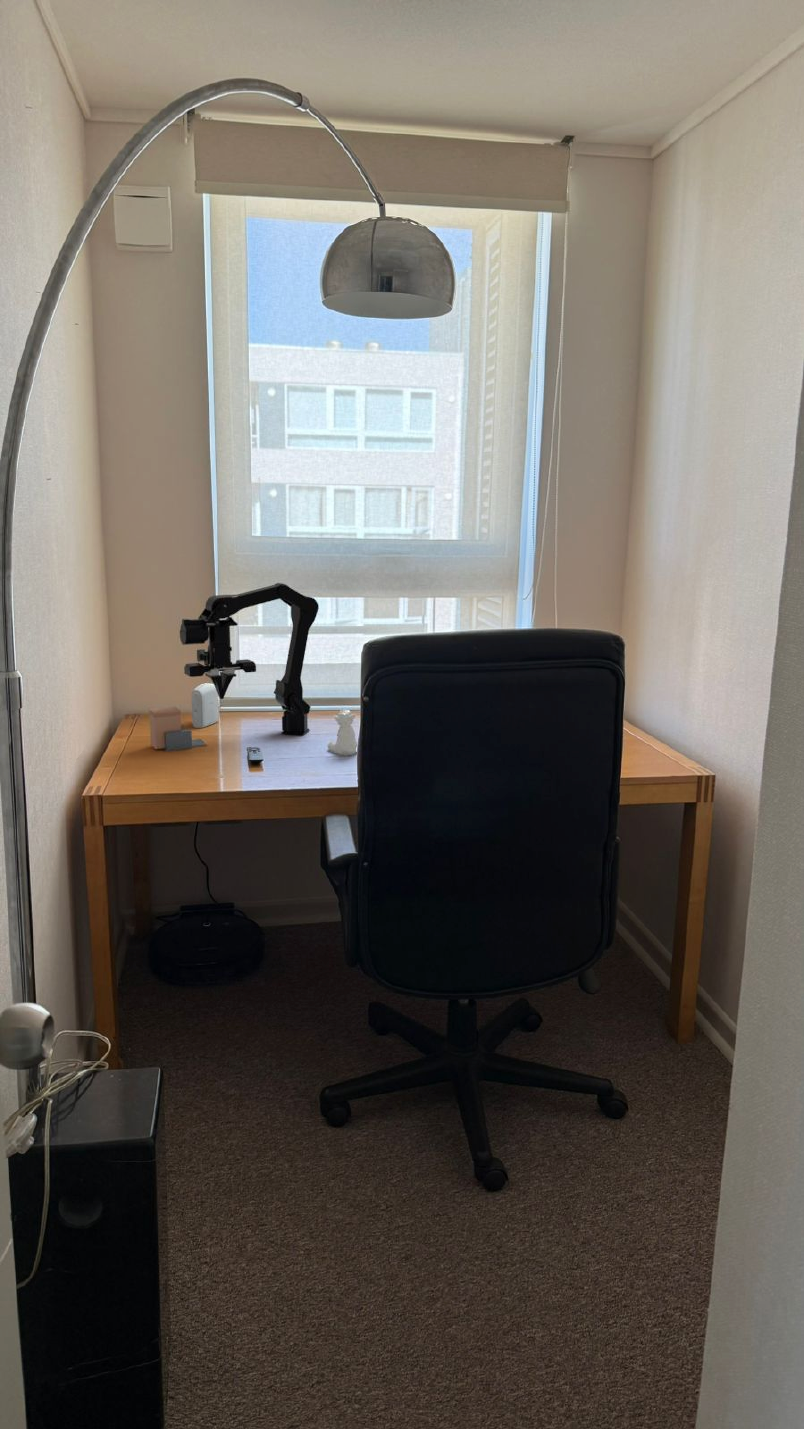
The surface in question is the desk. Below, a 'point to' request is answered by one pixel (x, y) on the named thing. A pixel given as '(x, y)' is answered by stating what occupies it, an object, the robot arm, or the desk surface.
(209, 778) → the desk surface
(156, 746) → the block
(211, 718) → the photo printer
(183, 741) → the chute
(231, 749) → the desk surface
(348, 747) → the white creature statuette
